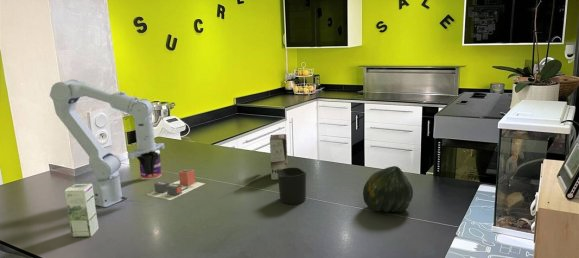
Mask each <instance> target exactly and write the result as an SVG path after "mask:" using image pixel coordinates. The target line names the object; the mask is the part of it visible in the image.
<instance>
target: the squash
mask: <svg viewBox="0 0 579 258" xmlns="http://www.w3.org/2000/svg"><path fill="white" fill-rule="evenodd" d="M413 192H414V189H413V186H412V183H411V182H410V181H409V179H408V177H407V176H406V174H405V173H404V172H403V171H402V169H401V168H400V167H399V166H398V165H397V166H396V165H395V166H389V167H385V168H383V169H380V170H378V171H376V172H374V173H372V174H371V175H370V177H368V179H367V181H366V182H365V184H364V186H363V192H362V196H363V201H364V204H365V205H366V206H367V207H368V208H370V209H372V210H374V211H375V212H382V211H383V212H386V213H388V212H391V213H394V212H397V213H401V212H405V211H406V210H407V209H408V208H409V206H410V203H411V202H412V199H413V194H414V193H413Z"/></svg>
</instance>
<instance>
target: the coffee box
mask: <svg viewBox="0 0 579 258" xmlns="http://www.w3.org/2000/svg"><path fill="white" fill-rule="evenodd" d="M287 145H288V142H287V134H285V133H283V134H281V133H280V134H278V133H277V134H271V135H270V138H269V150H270V156H269V157H270V174H271V175H270V176H271V177H270V179H271V180H278V171H279V170H281V169H284V168H289V167H288V146H287Z"/></svg>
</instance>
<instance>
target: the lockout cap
mask: <svg viewBox="0 0 579 258" xmlns="http://www.w3.org/2000/svg"><path fill="white" fill-rule="evenodd" d="M195 172H196V171H195V169H188V168H185V169H183V170H180V171H178V176H179V180H180V185H185V186H190V185H192V184H194V183H195V182H196V173H195Z"/></svg>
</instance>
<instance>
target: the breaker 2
mask: <svg viewBox="0 0 579 258" xmlns="http://www.w3.org/2000/svg"><path fill="white" fill-rule="evenodd" d="M181 193H182V187H181V185H179V184H172V183H170V185H168V186H167V194H169V195H174V196H176V195H179V194H181Z"/></svg>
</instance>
